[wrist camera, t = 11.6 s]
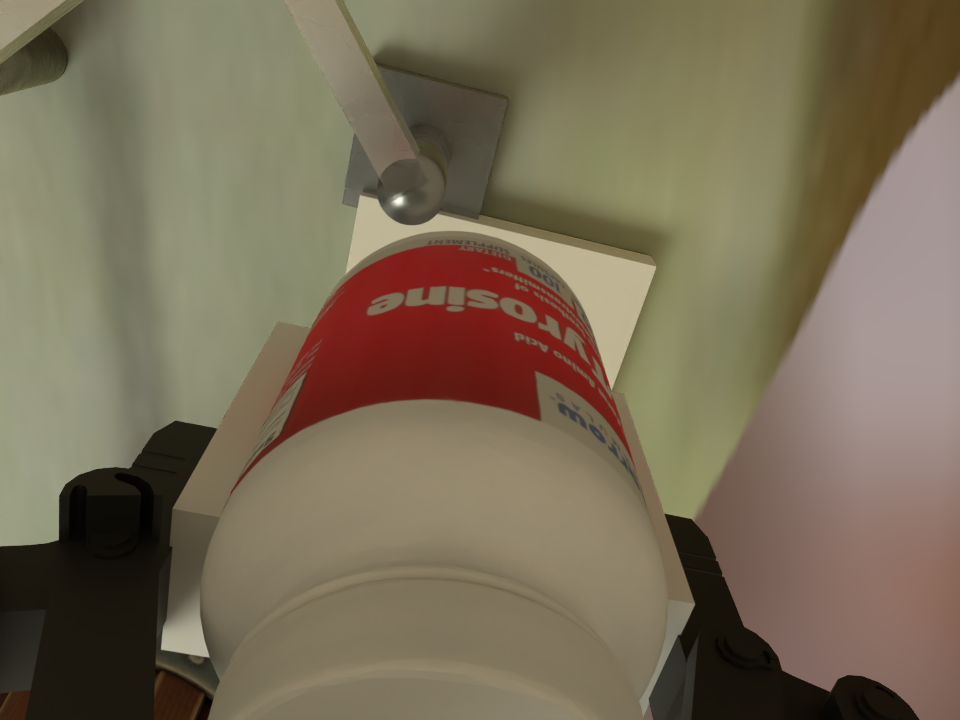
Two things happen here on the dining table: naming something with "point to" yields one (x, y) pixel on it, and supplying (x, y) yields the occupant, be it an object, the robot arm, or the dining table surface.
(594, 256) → the pad
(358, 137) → the jointed bar linkage
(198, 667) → the mug
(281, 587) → the pill bottle
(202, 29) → the dining table surface
